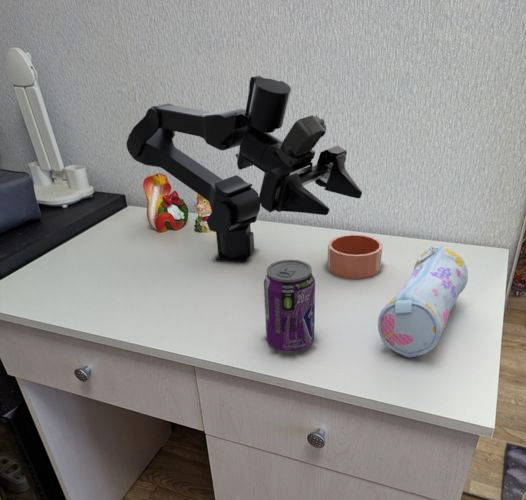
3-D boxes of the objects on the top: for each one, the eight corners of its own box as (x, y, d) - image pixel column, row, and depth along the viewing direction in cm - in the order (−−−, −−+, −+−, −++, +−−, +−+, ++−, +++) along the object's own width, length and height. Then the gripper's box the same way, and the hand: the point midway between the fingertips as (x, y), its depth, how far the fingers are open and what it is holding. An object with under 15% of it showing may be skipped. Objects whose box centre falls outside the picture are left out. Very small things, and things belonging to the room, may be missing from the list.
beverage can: (300, 361, 70) (299, 285, 63) (257, 347, 73) (252, 274, 66) (322, 336, 74) (324, 264, 68) (281, 324, 78) (279, 254, 71)
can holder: (323, 276, 91) (324, 253, 88) (332, 254, 98) (333, 232, 96) (377, 281, 88) (380, 257, 86) (382, 258, 96) (384, 236, 93)
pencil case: (411, 289, 85) (419, 237, 80) (464, 300, 81) (476, 246, 76) (371, 353, 70) (377, 295, 65) (433, 369, 67) (445, 309, 61)
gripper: (242, 117, 70) (326, 170, 65) (319, 98, 82) (395, 141, 77) (230, 187, 79) (303, 239, 73) (301, 160, 90) (369, 203, 85)
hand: (345, 203), depth 77 cm, fingers open, 9 cm apart
